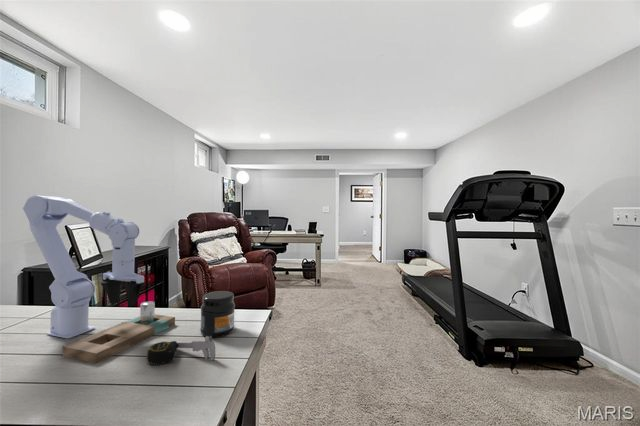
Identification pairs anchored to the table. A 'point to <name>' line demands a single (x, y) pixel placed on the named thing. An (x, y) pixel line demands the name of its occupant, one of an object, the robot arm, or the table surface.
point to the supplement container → (217, 314)
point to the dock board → (115, 339)
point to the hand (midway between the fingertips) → (122, 303)
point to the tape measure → (162, 352)
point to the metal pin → (147, 312)
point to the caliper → (200, 346)
